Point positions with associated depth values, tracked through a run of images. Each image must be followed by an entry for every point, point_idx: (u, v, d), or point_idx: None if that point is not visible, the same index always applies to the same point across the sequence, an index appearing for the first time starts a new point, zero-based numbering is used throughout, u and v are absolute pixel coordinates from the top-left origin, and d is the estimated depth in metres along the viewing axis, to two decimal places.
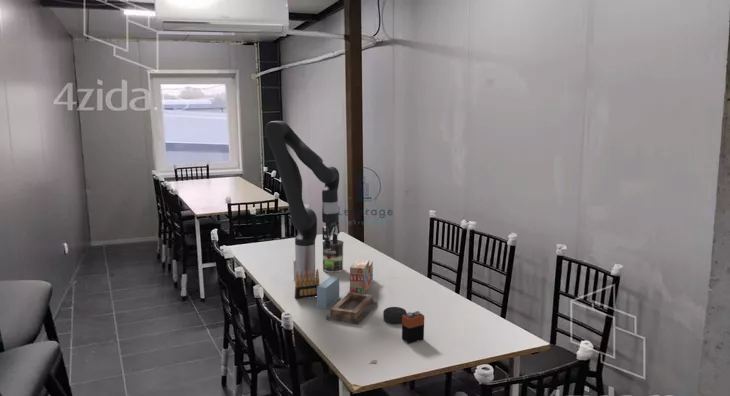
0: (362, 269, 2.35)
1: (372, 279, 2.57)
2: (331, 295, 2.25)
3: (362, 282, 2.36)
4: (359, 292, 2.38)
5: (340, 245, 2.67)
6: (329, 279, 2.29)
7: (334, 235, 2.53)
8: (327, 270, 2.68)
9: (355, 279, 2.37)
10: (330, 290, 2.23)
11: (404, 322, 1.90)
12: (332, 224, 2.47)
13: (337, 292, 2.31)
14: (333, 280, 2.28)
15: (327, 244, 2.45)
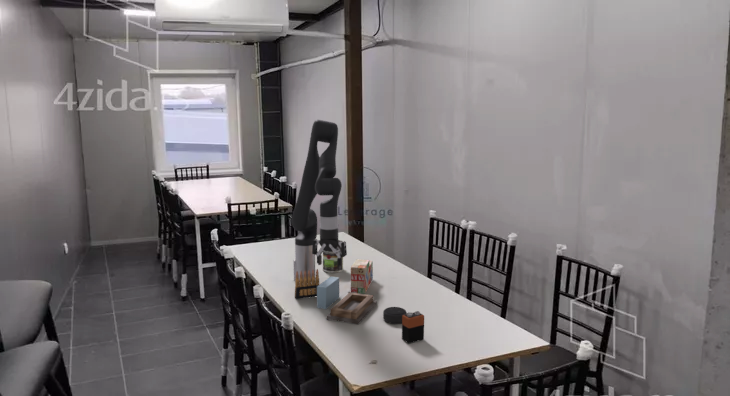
0: (363, 269, 2.36)
1: (372, 279, 2.57)
2: (331, 295, 2.25)
3: (363, 282, 2.37)
4: (360, 292, 2.38)
5: None
6: (329, 279, 2.29)
7: (320, 254, 2.26)
8: (327, 270, 2.68)
9: (356, 279, 2.37)
10: (330, 290, 2.23)
11: (404, 322, 1.90)
12: None
13: (337, 292, 2.31)
14: (333, 280, 2.28)
15: (341, 261, 2.23)
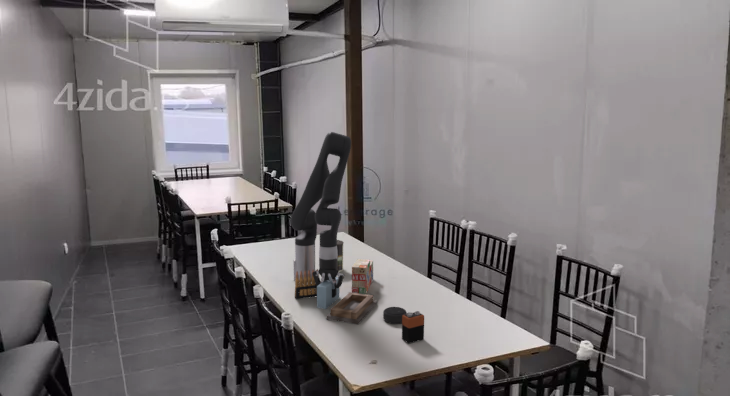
0: (364, 269, 2.36)
1: (372, 278, 2.58)
2: (331, 295, 2.25)
3: (364, 281, 2.37)
4: (361, 291, 2.38)
5: (340, 245, 2.67)
6: None
7: None
8: None
9: (357, 279, 2.38)
10: (330, 289, 2.23)
11: (404, 322, 1.90)
12: None
13: (337, 292, 2.31)
14: None
15: (336, 292, 2.26)
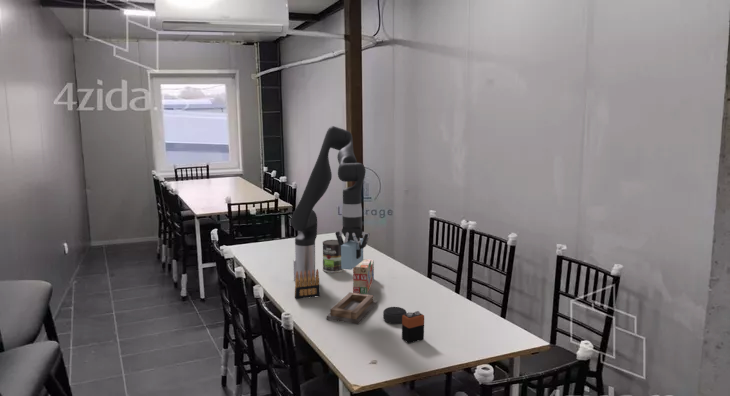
0: (365, 268, 2.37)
1: (373, 278, 2.58)
2: None
3: (365, 281, 2.38)
4: (362, 291, 2.39)
5: None
6: None
7: None
8: (327, 270, 2.68)
9: (358, 279, 2.38)
10: (354, 249, 2.11)
11: (404, 322, 1.90)
12: None
13: (361, 254, 2.19)
14: None
15: (360, 252, 2.14)
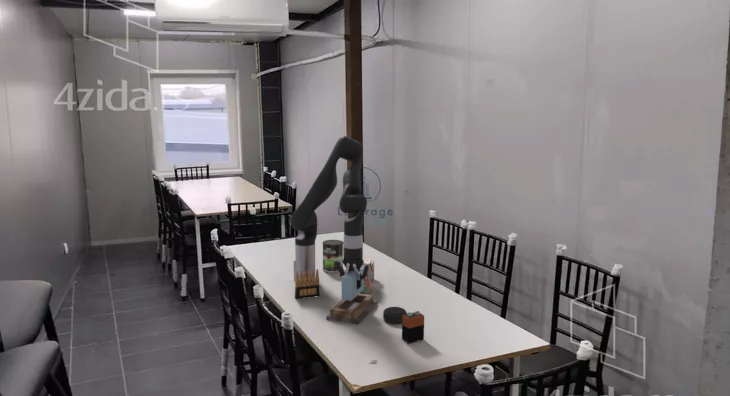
0: None
1: (373, 278, 2.59)
2: (356, 286, 2.14)
3: (366, 281, 2.38)
4: (363, 291, 2.39)
5: (340, 245, 2.67)
6: None
7: None
8: (327, 270, 2.68)
9: None
10: (355, 280, 2.12)
11: (404, 322, 1.90)
12: None
13: None
14: None
15: (361, 283, 2.15)
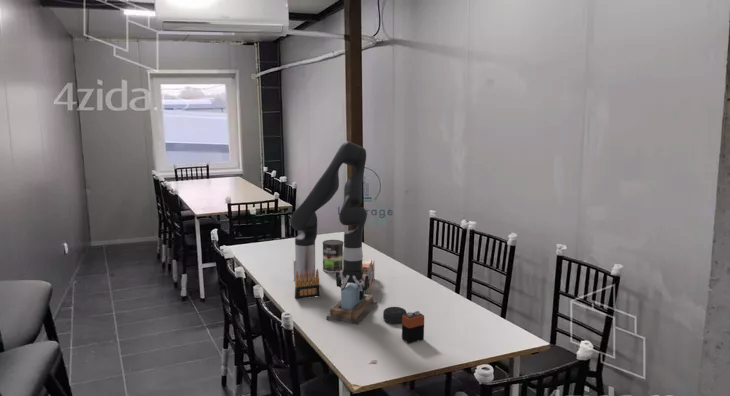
0: (367, 268, 2.37)
1: None
2: (356, 300, 2.15)
3: None
4: (364, 291, 2.39)
5: (340, 245, 2.67)
6: (353, 283, 2.19)
7: (344, 287, 2.17)
8: (327, 270, 2.68)
9: None
10: (354, 294, 2.13)
11: (404, 322, 1.90)
12: None
13: None
14: None
15: (363, 294, 2.15)
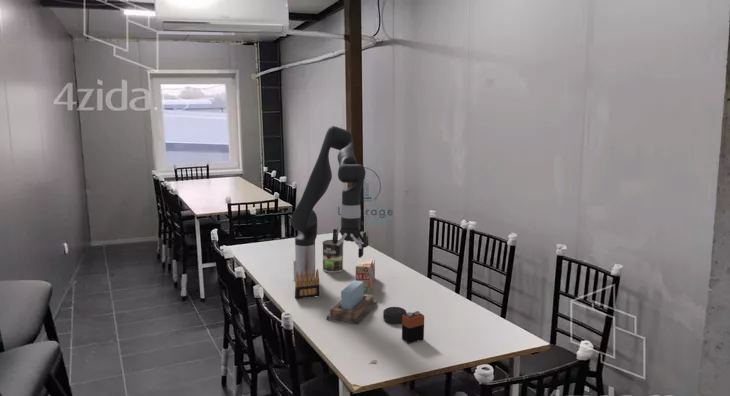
0: (368, 268, 2.37)
1: (374, 277, 2.59)
2: (356, 300, 2.15)
3: (368, 281, 2.38)
4: (365, 291, 2.40)
5: None
6: (353, 283, 2.19)
7: (340, 244, 2.16)
8: (327, 270, 2.68)
9: (361, 278, 2.39)
10: (354, 294, 2.13)
11: (404, 322, 1.90)
12: None
13: (361, 297, 2.21)
14: (357, 284, 2.18)
15: (362, 251, 2.14)
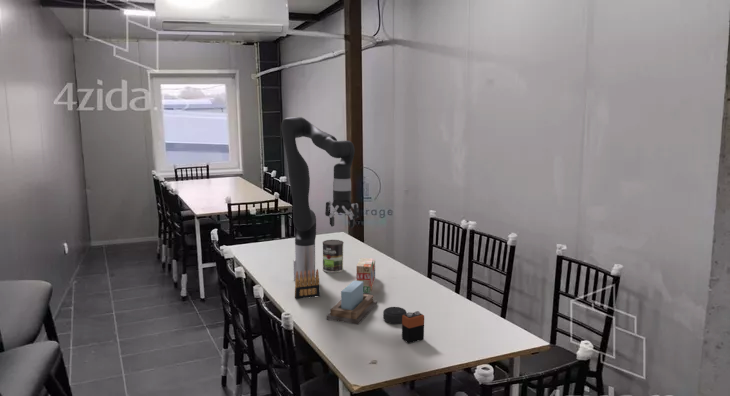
0: (369, 267, 2.38)
1: None
2: (356, 300, 2.15)
3: (369, 280, 2.39)
4: (366, 290, 2.40)
5: (340, 245, 2.67)
6: (353, 283, 2.19)
7: (332, 216, 2.32)
8: (327, 270, 2.68)
9: (362, 278, 2.39)
10: (354, 294, 2.13)
11: (404, 322, 1.90)
12: None
13: (361, 297, 2.21)
14: (357, 284, 2.18)
15: (353, 222, 2.29)
